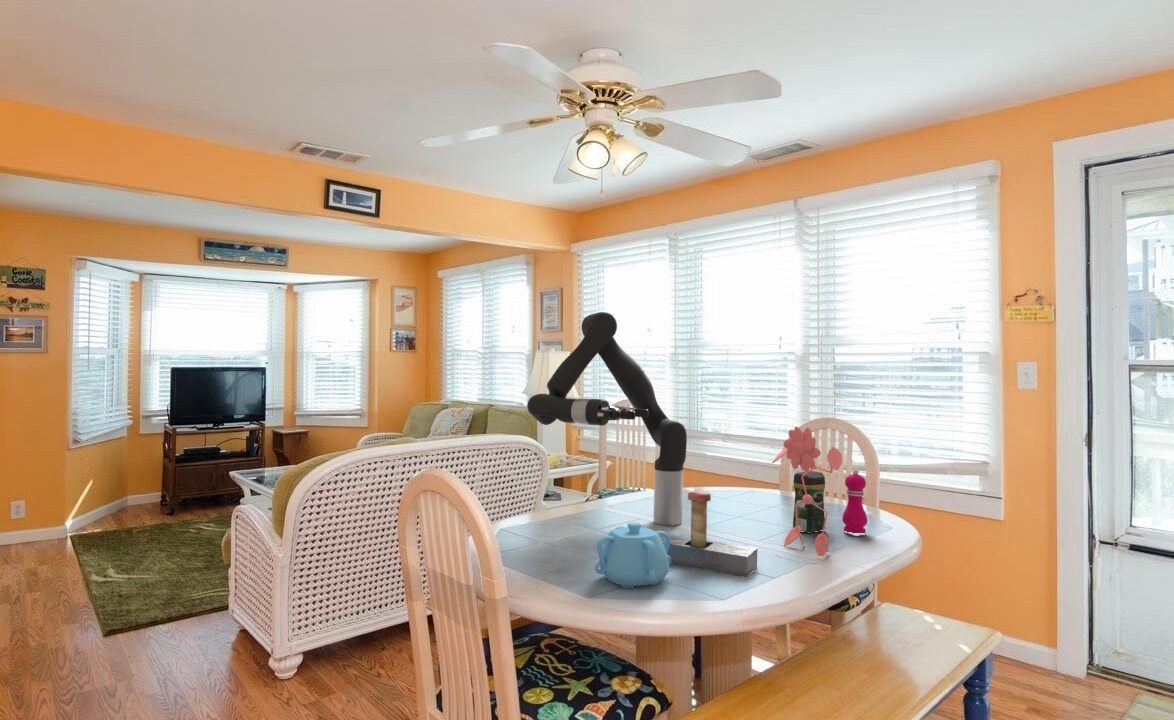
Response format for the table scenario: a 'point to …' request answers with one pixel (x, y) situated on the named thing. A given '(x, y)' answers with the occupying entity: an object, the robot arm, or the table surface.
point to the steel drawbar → (712, 556)
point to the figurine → (804, 454)
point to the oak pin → (699, 517)
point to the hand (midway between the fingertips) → (641, 414)
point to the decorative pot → (633, 556)
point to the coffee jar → (809, 514)
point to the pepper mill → (855, 504)
